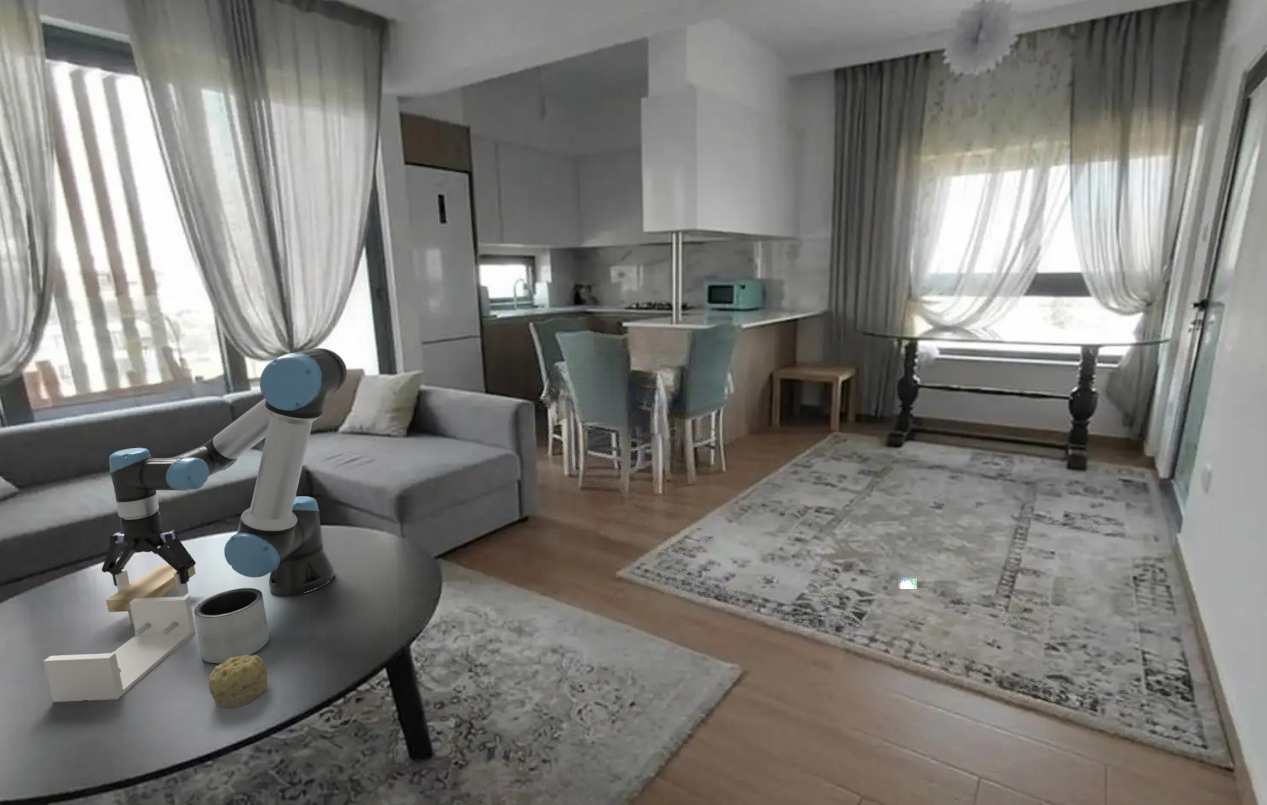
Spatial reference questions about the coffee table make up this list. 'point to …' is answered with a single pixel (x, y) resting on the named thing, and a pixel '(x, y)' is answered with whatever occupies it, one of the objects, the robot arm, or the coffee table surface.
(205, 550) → the coffee table surface
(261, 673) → the decorative item
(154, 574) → the board
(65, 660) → the shelf bay
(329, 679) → the coffee table surface
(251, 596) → the planter
